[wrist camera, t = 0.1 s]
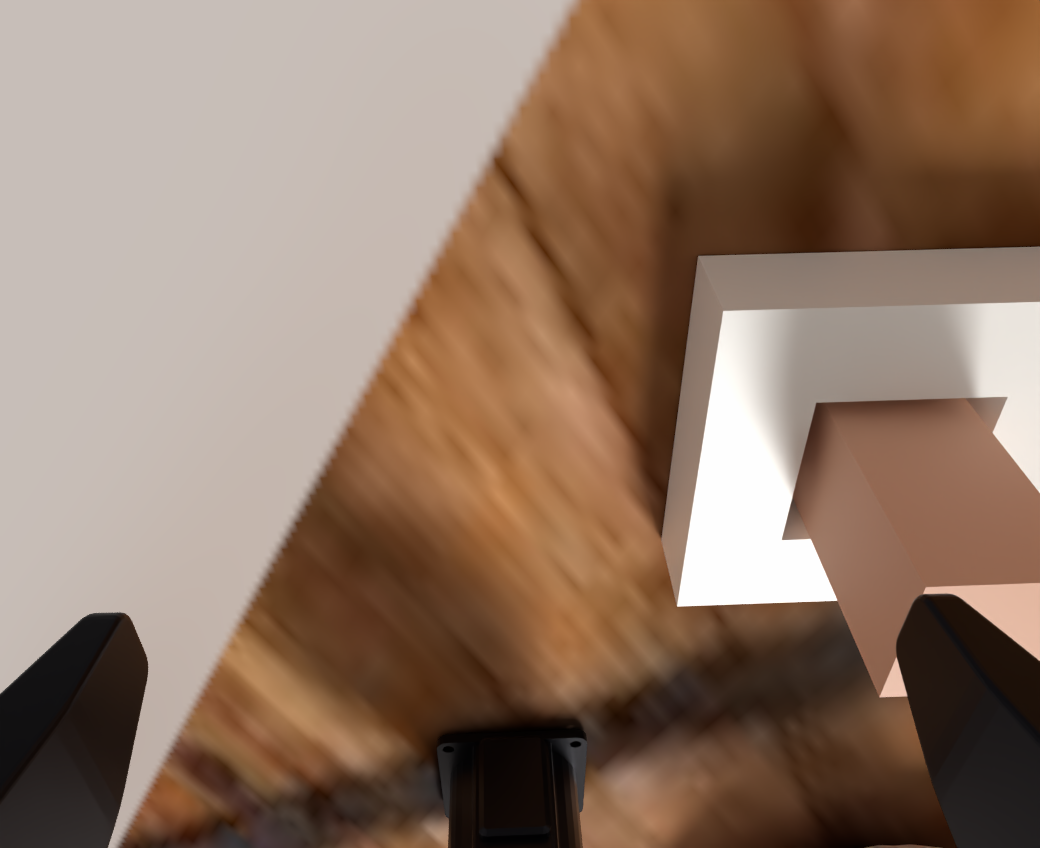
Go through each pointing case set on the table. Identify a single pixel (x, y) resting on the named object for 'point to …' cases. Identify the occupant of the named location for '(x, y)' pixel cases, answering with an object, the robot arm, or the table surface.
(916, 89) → the table surface
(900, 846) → the candlestick
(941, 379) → the white square frame
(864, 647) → the plug
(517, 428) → the table surface
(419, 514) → the table surface
